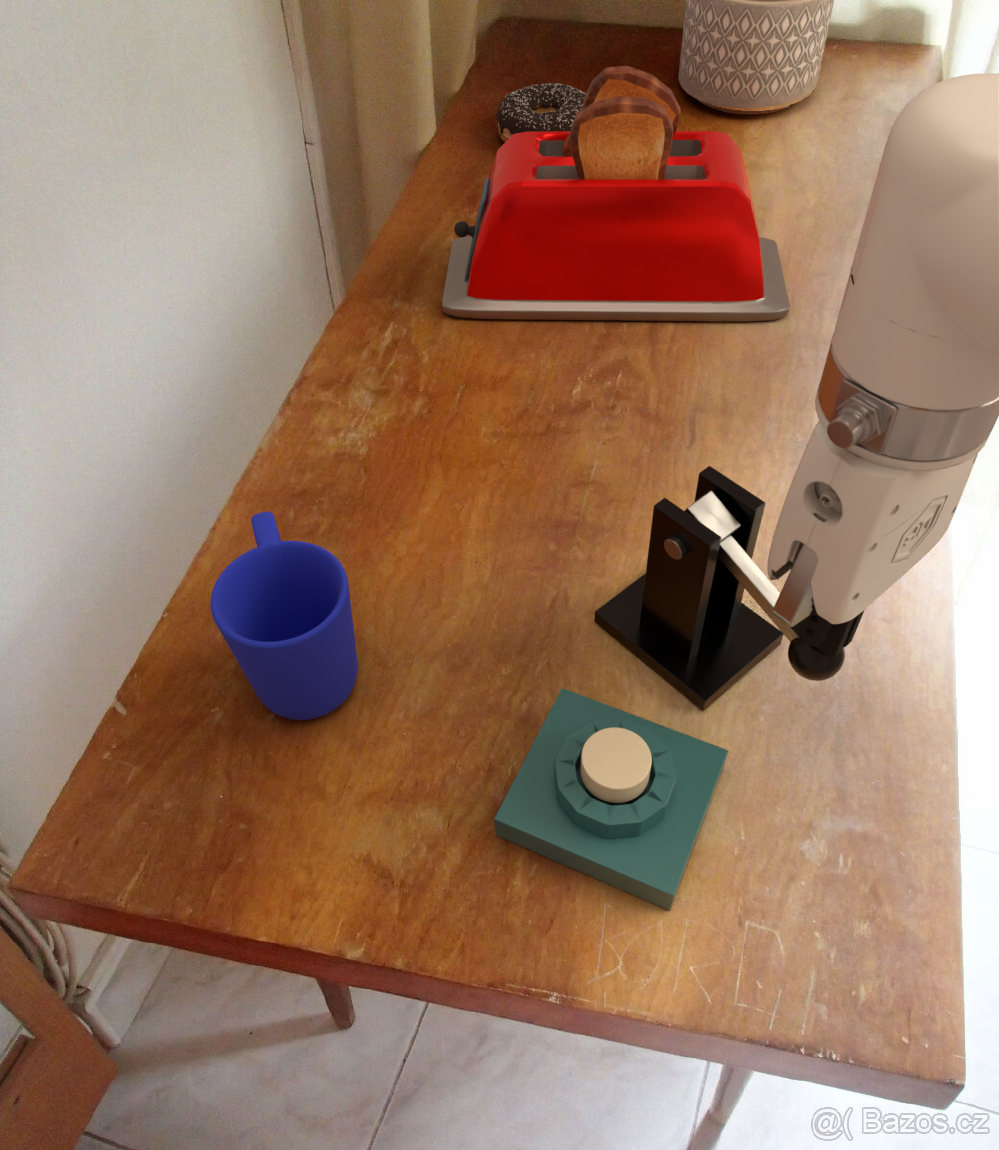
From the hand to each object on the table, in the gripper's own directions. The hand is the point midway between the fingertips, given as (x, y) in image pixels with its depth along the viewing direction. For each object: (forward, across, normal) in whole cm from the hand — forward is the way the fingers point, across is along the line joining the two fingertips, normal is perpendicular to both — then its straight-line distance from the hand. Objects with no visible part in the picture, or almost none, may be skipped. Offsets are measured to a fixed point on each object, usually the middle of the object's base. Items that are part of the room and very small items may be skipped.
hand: (819, 635), depth 57 cm
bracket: (+9, 0, +9) cm, 12 cm away
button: (+5, -13, +3) cm, 14 cm away
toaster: (+9, +26, +42) cm, 50 cm away
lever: (+1, 0, +5) cm, 5 cm away
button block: (+9, -13, +3) cm, 16 cm away
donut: (+9, +42, +68) cm, 81 cm away
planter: (+9, +67, +59) cm, 90 cm away
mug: (+9, -21, +25) cm, 34 cm away
